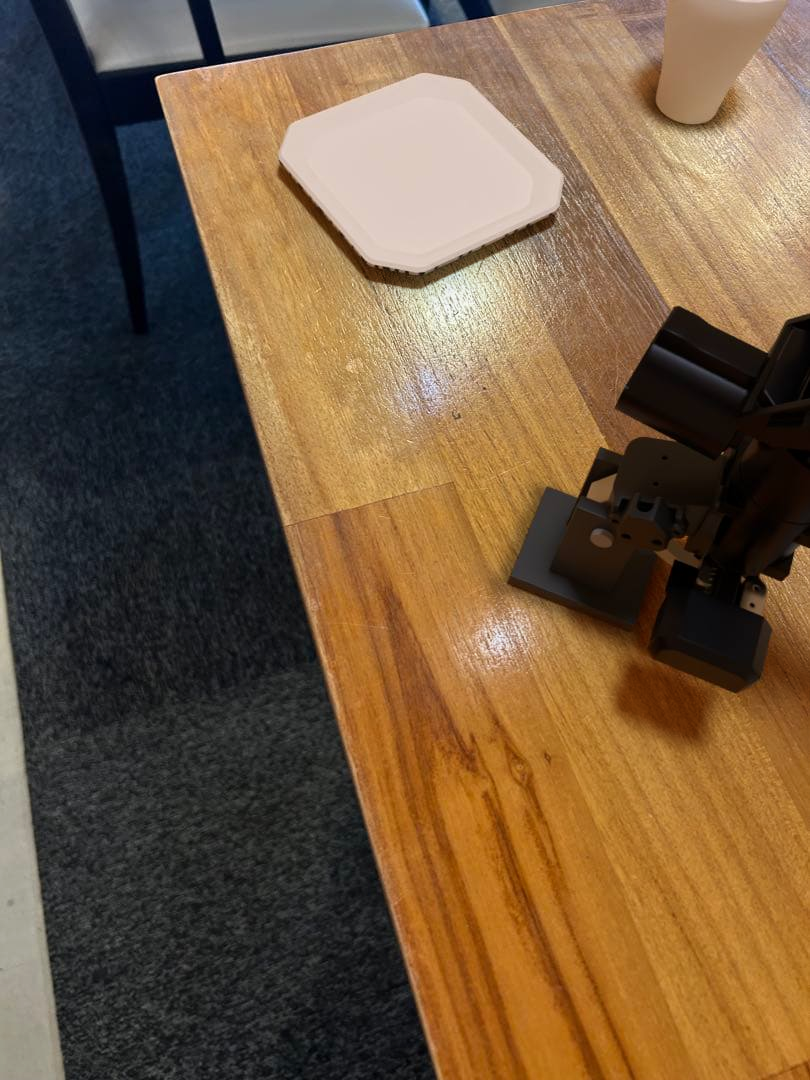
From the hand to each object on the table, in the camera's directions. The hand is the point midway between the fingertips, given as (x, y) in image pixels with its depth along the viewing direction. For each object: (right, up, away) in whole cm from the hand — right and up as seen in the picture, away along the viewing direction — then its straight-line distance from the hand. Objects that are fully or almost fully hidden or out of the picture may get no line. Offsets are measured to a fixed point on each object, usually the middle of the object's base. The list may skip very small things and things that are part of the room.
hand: (688, 595), depth 66 cm
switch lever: (-4, +3, -3) cm, 6 cm away
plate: (-18, +36, +19) cm, 44 cm away
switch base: (-7, +2, +2) cm, 7 cm away
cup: (+8, +46, +27) cm, 54 cm away
